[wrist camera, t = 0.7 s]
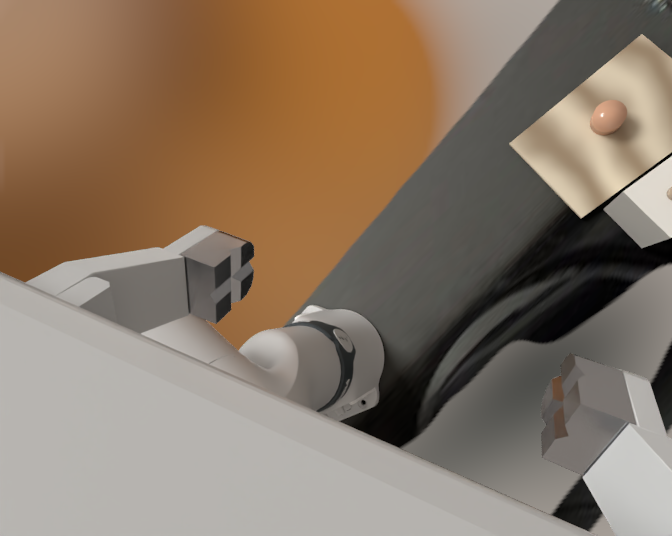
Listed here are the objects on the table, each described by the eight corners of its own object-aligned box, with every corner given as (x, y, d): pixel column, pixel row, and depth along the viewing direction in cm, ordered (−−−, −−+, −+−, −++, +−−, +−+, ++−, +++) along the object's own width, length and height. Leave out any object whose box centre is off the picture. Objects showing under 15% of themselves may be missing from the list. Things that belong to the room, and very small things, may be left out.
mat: (580, 218, 55) (581, 218, 55) (509, 144, 59) (509, 143, 59) (729, 109, 50) (732, 107, 49) (640, 36, 54) (641, 34, 53)
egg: (603, 141, 54) (607, 134, 52) (583, 122, 55) (586, 114, 53) (628, 121, 53) (634, 113, 51) (608, 102, 54) (612, 94, 52)
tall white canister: (641, 248, 52) (675, 236, 42) (603, 209, 54) (625, 188, 44) (692, 213, 51) (739, 192, 40) (650, 174, 53) (685, 145, 42)
